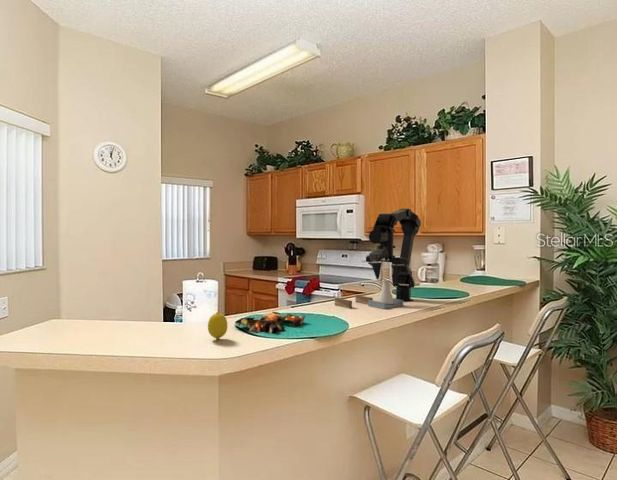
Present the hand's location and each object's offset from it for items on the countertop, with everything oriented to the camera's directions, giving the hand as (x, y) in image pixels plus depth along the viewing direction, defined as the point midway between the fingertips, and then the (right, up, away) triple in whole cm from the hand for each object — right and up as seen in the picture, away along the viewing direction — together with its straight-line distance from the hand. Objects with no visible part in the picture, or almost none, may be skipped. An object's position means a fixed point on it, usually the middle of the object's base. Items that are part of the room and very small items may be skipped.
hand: (385, 280), depth 169 cm
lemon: (-59, -12, -53) cm, 80 cm away
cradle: (0, -11, 0) cm, 11 cm away
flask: (0, -10, 0) cm, 10 cm away
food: (-45, -12, -35) cm, 58 cm away
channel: (-13, -11, +2) cm, 17 cm away
